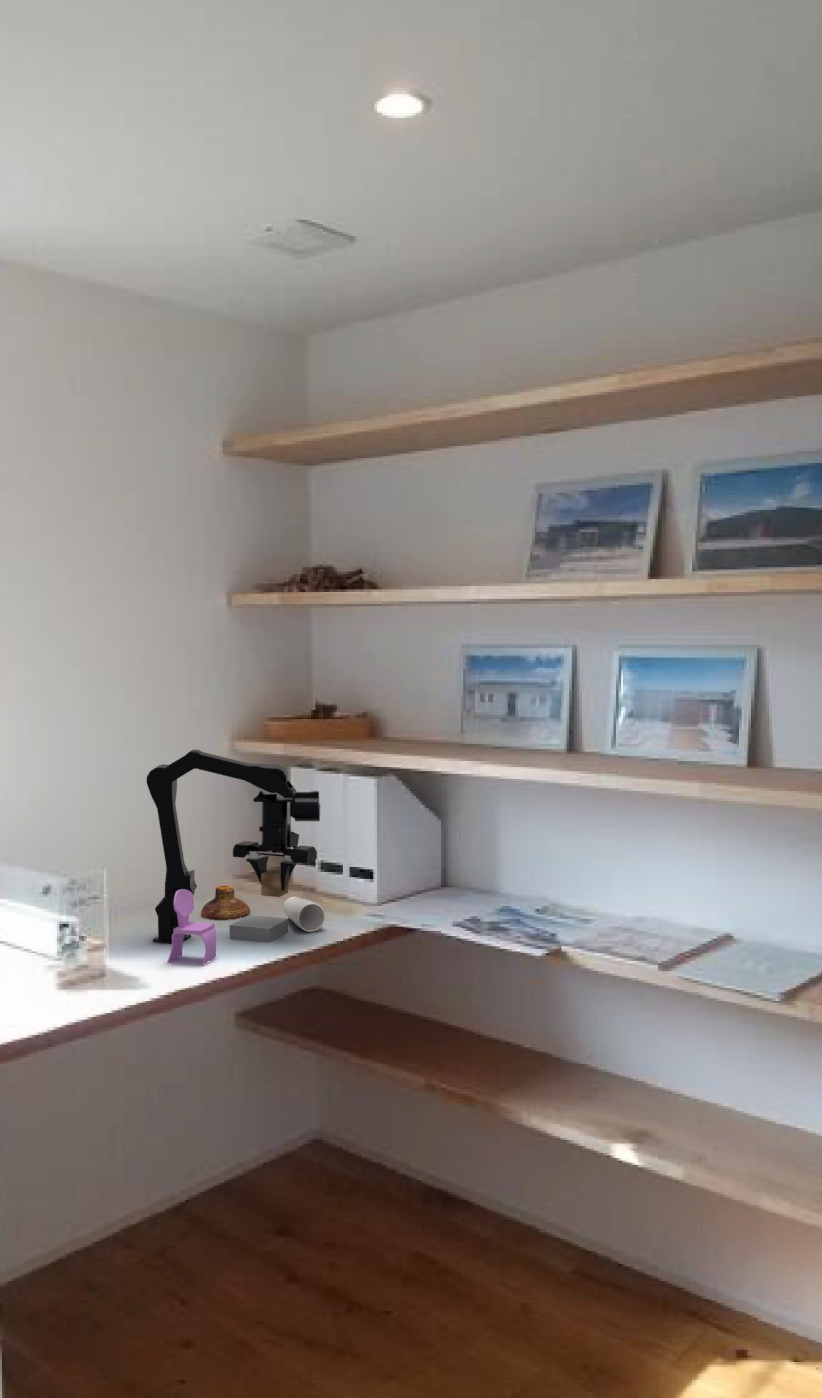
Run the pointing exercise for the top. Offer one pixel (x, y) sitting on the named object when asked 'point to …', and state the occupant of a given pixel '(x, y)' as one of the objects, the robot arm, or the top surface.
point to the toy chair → (191, 927)
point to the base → (259, 928)
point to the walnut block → (272, 884)
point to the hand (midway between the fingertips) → (274, 889)
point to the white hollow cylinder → (304, 913)
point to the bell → (225, 905)
